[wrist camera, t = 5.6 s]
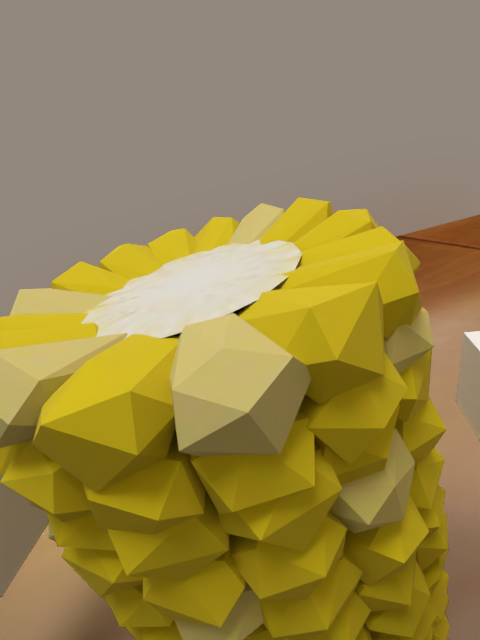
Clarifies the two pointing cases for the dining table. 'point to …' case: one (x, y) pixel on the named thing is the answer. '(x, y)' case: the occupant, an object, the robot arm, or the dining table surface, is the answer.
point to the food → (237, 430)
